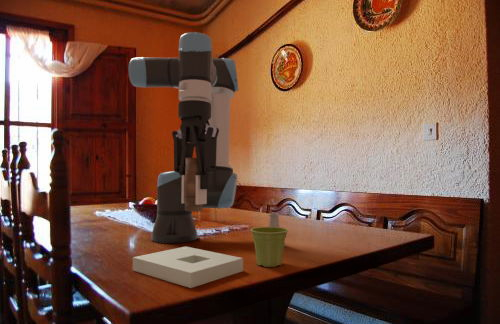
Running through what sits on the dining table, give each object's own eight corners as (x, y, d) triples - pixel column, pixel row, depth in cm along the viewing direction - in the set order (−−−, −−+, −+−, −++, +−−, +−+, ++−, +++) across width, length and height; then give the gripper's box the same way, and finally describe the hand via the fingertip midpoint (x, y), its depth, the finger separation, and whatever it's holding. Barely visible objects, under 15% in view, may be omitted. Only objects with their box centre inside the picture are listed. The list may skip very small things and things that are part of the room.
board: (132, 270, 85) (132, 257, 85) (185, 257, 97) (185, 246, 97) (190, 288, 72) (190, 272, 72) (242, 271, 85) (242, 258, 85)
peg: (180, 210, 83) (181, 157, 84) (194, 209, 86) (194, 158, 87) (193, 211, 81) (193, 157, 81) (206, 210, 84) (206, 158, 84)
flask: (284, 249, 109) (284, 215, 109) (260, 247, 110) (260, 214, 111) (287, 244, 116) (287, 212, 116) (264, 243, 118) (264, 212, 118)
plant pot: (248, 260, 95) (249, 226, 95) (284, 259, 96) (284, 226, 96) (252, 269, 86) (252, 232, 86) (291, 269, 87) (291, 232, 87)
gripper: (158, 103, 87) (157, 202, 86) (209, 94, 76) (208, 206, 75) (183, 108, 93) (182, 200, 92) (233, 100, 82) (232, 204, 81)
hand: (193, 203), depth 84 cm, fingers closed on peg, 4 cm apart
